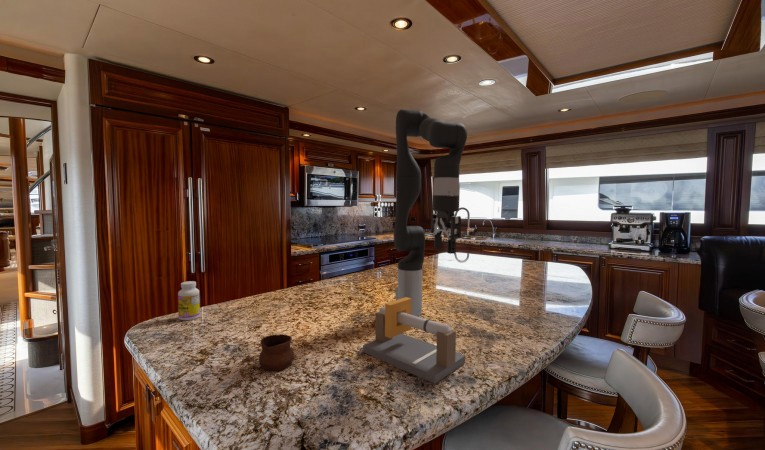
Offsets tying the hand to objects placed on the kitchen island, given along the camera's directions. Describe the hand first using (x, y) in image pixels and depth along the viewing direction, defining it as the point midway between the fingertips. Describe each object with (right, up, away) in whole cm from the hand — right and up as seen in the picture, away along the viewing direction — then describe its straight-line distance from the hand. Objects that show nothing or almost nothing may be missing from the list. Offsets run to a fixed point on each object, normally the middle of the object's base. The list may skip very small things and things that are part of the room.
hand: (444, 250), depth 96 cm
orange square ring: (-13, -23, -3) cm, 26 cm away
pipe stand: (-10, -28, -6) cm, 30 cm away
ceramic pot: (-45, -29, -10) cm, 55 cm away
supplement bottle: (-87, -26, +24) cm, 94 cm away
